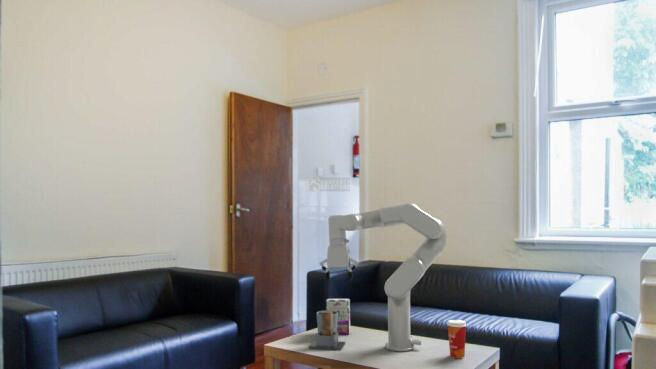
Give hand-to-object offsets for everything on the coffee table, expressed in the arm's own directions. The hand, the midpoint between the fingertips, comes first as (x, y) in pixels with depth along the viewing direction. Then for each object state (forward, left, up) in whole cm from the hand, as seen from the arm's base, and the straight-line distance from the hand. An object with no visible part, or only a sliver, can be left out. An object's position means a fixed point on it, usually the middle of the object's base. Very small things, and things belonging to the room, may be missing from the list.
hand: (339, 280), depth 223 cm
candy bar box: (+5, -18, -28) cm, 34 cm away
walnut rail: (+4, +5, -27) cm, 28 cm away
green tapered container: (+8, -8, -28) cm, 30 cm away
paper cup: (-50, +9, -28) cm, 58 cm away
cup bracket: (+5, +5, -28) cm, 29 cm away
